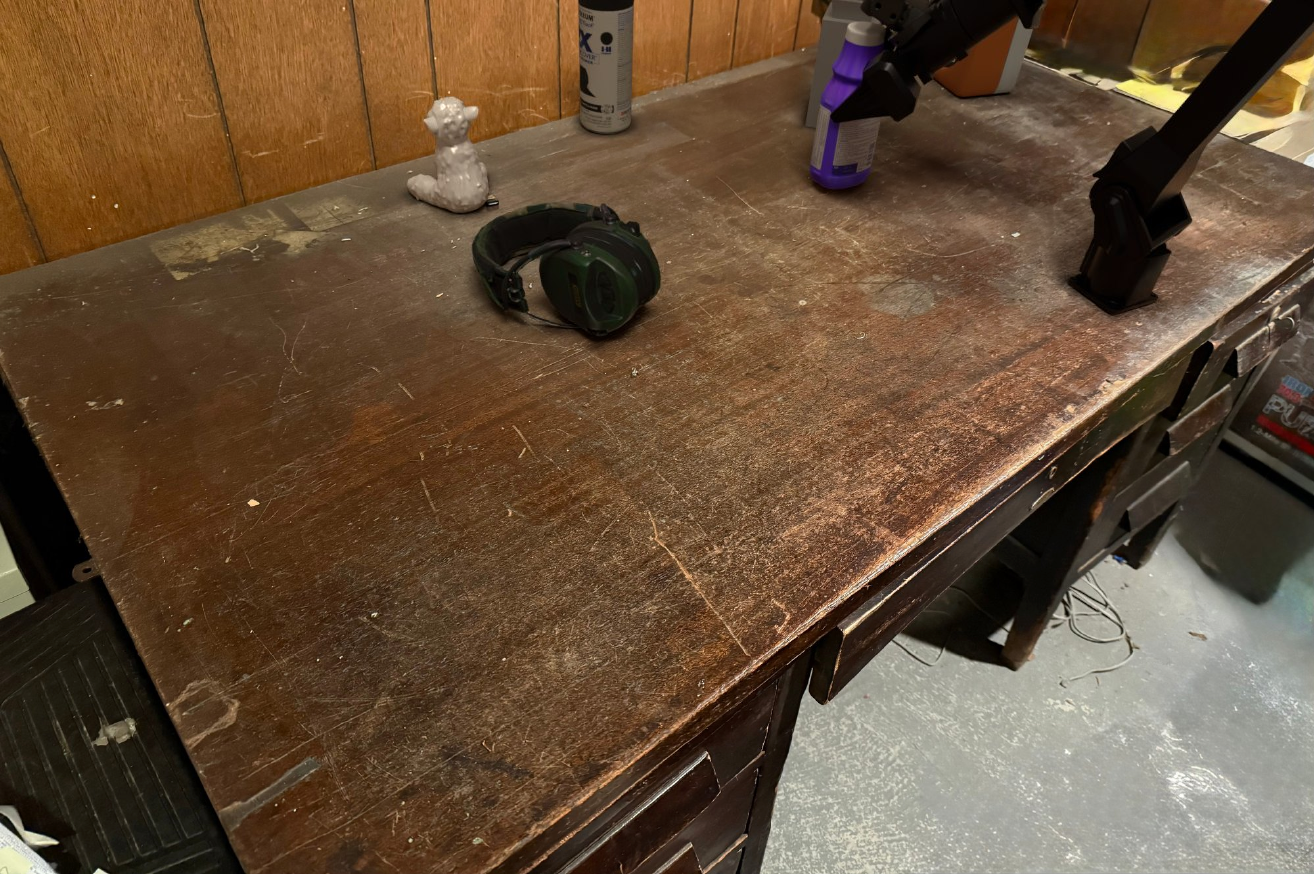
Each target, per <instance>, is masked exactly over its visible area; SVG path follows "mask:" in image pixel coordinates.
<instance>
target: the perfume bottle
mask: <svg viewBox="0 0 1314 874" xmlns="http://www.w3.org/2000/svg"><path fill="white" fill-rule="evenodd" d="M863 1H864V0H831V2H830V3H829V4H828V7H827V9H826V11H825V13H824V15H823V17H822V19H821V26H820V30H819V31H820V32H819V38H818V44H817V51H816V55H815V56H816V57H815V63H814V68H813V69H814V70H813V76H812V81H811V88H810V94H809V101H808V106H807V112H806V120H805V125H804V126H805V127H806V128H813V129H816V126H817V120H818V114H819V107H820V102H821V96H822V93H823V91H824V89H825V87H826V85H827V84H828V82H829V81H830V79H831V78H832V76H833V75H834V73H833V69H832V66H833V64H834V62H835V61H836V60H837V58H838V57H839V55H840V53H841V51H842V48H843V45H844V41H845V35H846V32H847V27H848V25H849V24H850V23H853V22H872V23H877V24H879V25H882V23H881V22H880V21H878V20H877V19H875V18H874V17H872V16H871V17H869V16H868V15H866V14H865V13H864V12H863V11H862V10H861V8H860V5H861V4H862V2H863Z"/></svg>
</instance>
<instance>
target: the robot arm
mask: <svg viewBox="0 0 1314 874" xmlns="http://www.w3.org/2000/svg"><path fill="white" fill-rule="evenodd" d="M1047 5H1048V0H929V1H928V0H864V1H863V2H862V4H861V5H860V8H861V10H862V11H863V12H864V13H865V14H866V15H868V16H869V17H871V16H872V17H874V18H875V19H877V20H878V21H880V22H881V25H883V26H884V28H885V29H886V33H885V38H884V45H883V51H882V52H881V53H880V54H878V55H877V56H875V57H874V58H873V59H872V60H871V61H869V60H868V62H867V63H866V65H865V67H864V69H863V73H862V75H863V77H862V83H861V84H860V85H859V86H858V87H857V88H856V89H855V90H854V91H853V92H852V93H851V94H850V95H849V96H848V97H847V98H846V99H845V100H844V101H843V102H842V103H841V104H840V105H839V106H838V107H837V108H836V109H835V110H834V111H833V112H832V113H831V114H830V118H831V119H832V121H833V122H834V123H842V122H848V121H854V120H861V119H868V118H877V117H882V118H885V117H890V118H891V119H892V120H893V121H894V122H896V123H897V124H898V123H899V122H901V121H903V120H904V119H906V118H907V117H909V116H910V115H912V114H913V113H914V112H915V109H916V107H917V104H918V102H919V98H920V94H921V91H922V90H921V89H922V86H921V85H920V83H919V82H918V81H917V79H916V78H915V77H916V76H917V77H918V78H919V80H920V82H921V84H922V85H923V86H925V85H926V84H928V83H930V82H931V81H933V79H934V74H935V72H937V71H938V70H940V69H941V68H943V67H944V66H946V65H947V64H949V63H950V62H952V61H953V60H955V59H956V58H957V59H958V60H959V62H960V61H961V60H963V59H964V58H966V57H967V56H968V55H969V52H970V49H971V48H972V47H974V46H975V45H977V44H978V43H980V42H981V41H983V40H984V39H986V38H987V37H989V36H990V35H992V34H993V33H995V32H996V31H998V30H999V29H1001V28H1002V27H1004V26H1005V25H1006V24H1008V23H1009V22H1011V21H1012V20H1014V19H1015V18H1017V17H1019V19H1020V21H1021V23H1022V25H1023V27H1024V28H1025V29H1033V30H1037V29H1039V27H1040V25H1041V21H1042V20H1041V19H1042V15H1043V12H1044V10H1045V8H1046V7H1047ZM1313 33H1314V0H1271V1H1270V2H1269V3H1268V4H1267V5H1266V7H1265V8H1264V9H1263V10H1262V11H1261V12H1260V14H1259V15H1258V16H1257V17H1256V18H1255V19H1254V20H1253V21H1252V23H1250V25H1249V26H1248V28H1246V30H1245V31H1244V32H1243V33H1242V34H1241V35H1240V36H1239V38H1238V39H1237V40H1236V41H1235V42H1234V44H1233V45H1232V46H1231V47H1230V48H1229V49H1228V50H1227V51H1226V53H1225V54H1224V55H1223V56H1222V57H1221V59H1219V61H1218V62H1216V64H1215V65H1214V67H1213V68H1212V69H1211V70H1210V71H1209V72H1208V74H1207V75H1206V76H1205V77H1204V78H1203V79H1202V81H1200V83H1198V85H1197V86H1196V87H1195V88H1194V89H1193V91H1192V92H1191V93H1190V94H1189V95H1188V97H1186V98H1185V100H1184V101H1183V102H1182V103H1181V105H1179V107H1178V108H1177V109H1176V110H1175V111H1174V113H1172V115H1171V116H1170V117H1169V119H1168V120H1167V121H1166V122H1165V123H1164V124H1163V125H1162V127H1161V128H1160V129H1159V130H1158V131H1157V130H1156V128H1155V127H1154V126H1153V125H1150V126H1147V127H1145V128H1143V129H1142V130H1140V131H1138V132H1137V133H1135V134H1133V135H1131V136H1129V137H1127V138H1126V139H1124V140H1122V141H1120V143H1119V144H1118V145H1117V146H1116V148H1115V149H1114V151H1113V152H1112V154H1111V156H1110V157H1109V159H1108V161H1107V162H1106V164H1105V165H1104V166H1102V168H1100V169H1099V170H1097V171H1095V172H1093V173H1092V175H1091V177H1092V178H1096V180H1095V182H1094V183H1093V184H1092V186H1091V188H1090V190H1089V193H1088V199H1089V203H1090V209H1091V211H1092V214H1093V233H1092V234H1093V237H1092V238H1091V240H1090V242H1089V244H1088V246H1087V249H1086V251H1085V253H1084V256H1083V258H1082V261H1081V263H1080V265H1079V267H1078V272H1079V273H1078V274H1075V275H1071V276H1069V277H1068V279H1067V281H1066V282H1067V284H1069V286H1072V287H1073V288H1074V289H1076V290H1077V291H1078V292H1080V293H1081V294H1083V295H1084V296H1085V297H1086V298H1088V299H1090V300H1091V301H1093V303H1095V304H1096V305H1098V306H1099V307H1100V308H1102V309H1103V310H1105V311H1106V312H1107V313H1108V314H1109V313H1110V314H1112V315H1117V314H1121V313H1124V312H1127V311H1130V310H1134V309H1137V308H1140V307H1143V306H1146V305H1149V304H1152V303H1156V302H1157V301H1158V300H1159V295H1158V294H1157V293H1155V292H1154V291H1153V290H1154V288H1155V286H1156V284H1157V283H1158V280H1159V279H1160V277H1161V275H1162V272H1163V271H1164V269H1165V266H1166V265H1167V263H1168V261H1169V259H1170V258H1171V255H1172V253H1173V251H1172V250H1171V249H1169V248H1168V247H1167V242H1169V241H1170V240H1172V239H1173V238H1176V237H1178V236H1179V235H1180V234H1181V233H1182V232H1183V231H1185V229H1186V228H1188V227H1189V226H1190V225H1191V224H1192V223H1193V218H1192V216H1191V213H1190V210H1189V208H1188V206H1187V203H1186V201H1185V199H1184V195H1183V193H1182V190H1183V188H1184V187H1185V185H1186V184H1187V182H1188V181H1189V180H1190V178H1191V177H1192V175H1193V173H1194V172H1195V170H1196V168H1197V166H1198V163H1199V162H1200V159H1201V158H1202V155H1203V152H1204V151H1205V150H1206V148H1207V146H1208V145H1209V144H1210V143H1211V142H1212V141H1213V140H1214V138H1215V137H1216V136H1218V134H1219V133H1220V132H1221V131H1222V130H1223V129H1224V128H1225V127H1226V126H1227V124H1229V122H1231V121H1232V119H1233V118H1234V117H1235V116H1236V115H1237V114H1238V113H1239V112H1240V111H1241V110H1242V109H1243V107H1245V106H1246V104H1248V103H1249V101H1250V100H1251V99H1252V98H1253V97H1254V96H1255V95H1256V94H1257V93H1258V91H1260V89H1262V87H1263V86H1264V85H1265V84H1266V83H1267V82H1268V81H1269V80H1270V79H1271V78H1272V77H1273V76H1274V74H1276V72H1277V71H1278V70H1279V69H1280V68H1281V67H1282V66H1283V65H1284V64H1285V63H1286V62H1287V61H1288V60H1289V59H1290V58H1291V57H1292V56H1293V55H1294V53H1295V52H1297V51H1298V49H1299V48H1300V47H1301V46H1302V45H1303V44H1304V43H1305V41H1307V39H1309V37H1310V36H1312V34H1313Z"/></svg>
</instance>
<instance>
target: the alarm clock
mask: <svg viewBox="0 0 1314 874" xmlns="http://www.w3.org/2000/svg"><path fill="white" fill-rule="evenodd" d="M928 1H929V0H928ZM1033 31H1034V29H1025V28H1024V27H1023V25H1022V23H1021V21H1020V19H1019V17H1017V18H1015V19H1014V20H1012V21H1011V22H1009V23H1008V24H1006V25H1005V26H1004V27H1002V28H1001V29H999V30H998V31H996V32H995V33H993V34H992V35H990V36H989V37H987V38H986V39H984V40H983V41H981V42H980V43H978V44H977V45H975V46H974V47H972V48H971V49H970V52H969V55H968V56H967V57H966V58H964V59H963V60H961V61H960V62H959V60H958V59H957V58H956V59H955V60H953V61H952V62H950V63H949V64H947V65H946V66H944V67H943V68H941V69H940V70H938V71H937V72H935V74H934V77H933V79H935V80H936V81H937V82H938V83H940V84H941V85H942V86H944V87H945V88H946V89H948V90H949V91H950V92H951V93H953V94H954V95H955V96H957V97H959V98H963V97H964V98H965V97H974V96H983V95H985V96H986V95H994V94H1003V93H1010V92H1011V91H1013V89H1014V88H1015V86H1016V85H1017V81H1018V78H1019V76H1020V71H1021V68H1022V65H1023V62H1024V60H1025V55H1026V52H1027V50H1028V46H1029V43H1030V40H1031V37H1032V34H1033Z"/></svg>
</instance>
